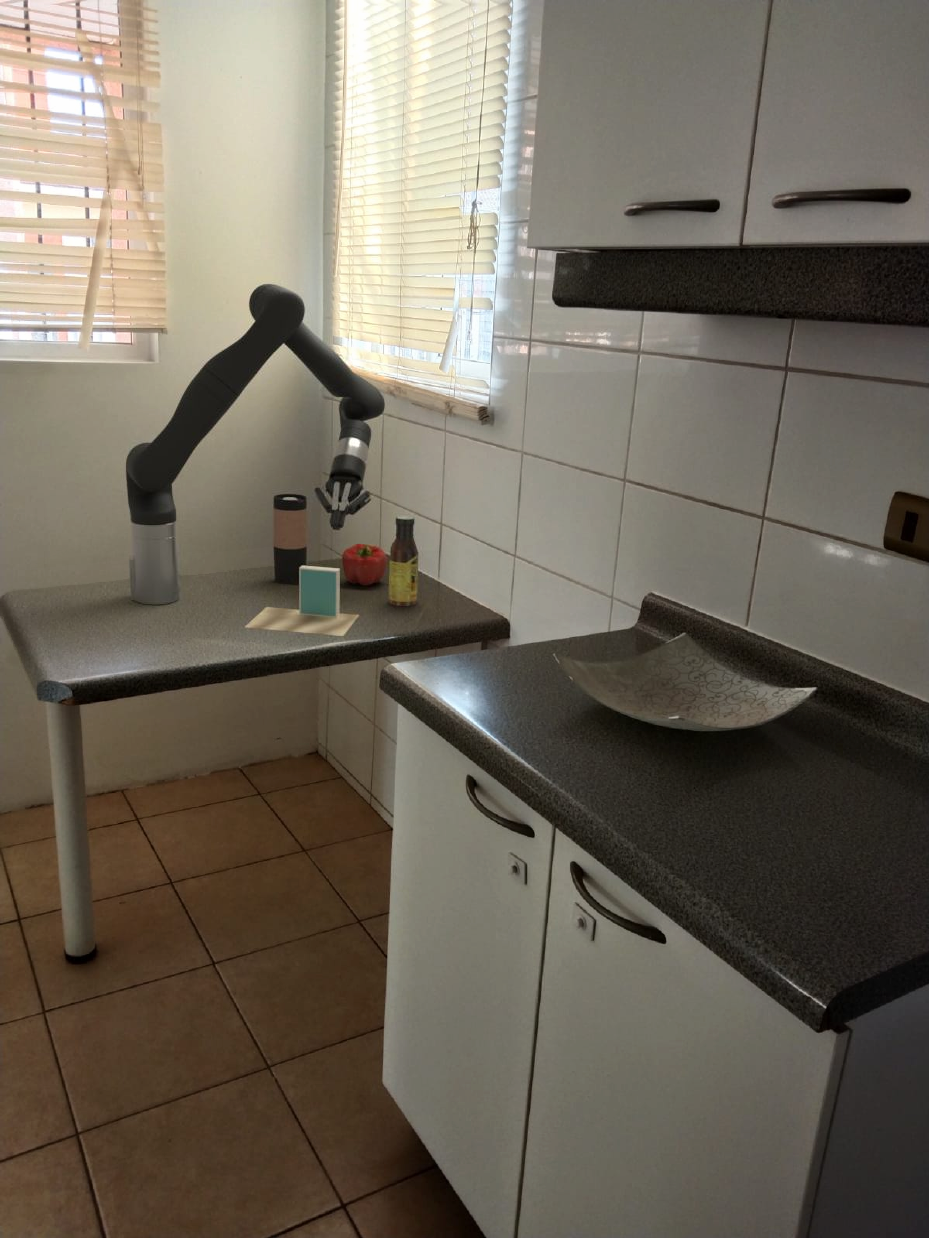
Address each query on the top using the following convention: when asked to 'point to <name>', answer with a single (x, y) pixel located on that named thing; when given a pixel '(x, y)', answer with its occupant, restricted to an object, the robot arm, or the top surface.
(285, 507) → the travel mug
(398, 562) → the sauce bottle
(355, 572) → the vegetable
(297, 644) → the top surface
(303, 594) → the tile
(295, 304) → the robot arm
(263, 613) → the board
